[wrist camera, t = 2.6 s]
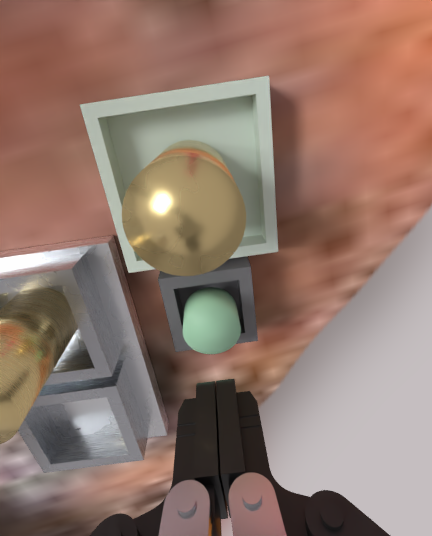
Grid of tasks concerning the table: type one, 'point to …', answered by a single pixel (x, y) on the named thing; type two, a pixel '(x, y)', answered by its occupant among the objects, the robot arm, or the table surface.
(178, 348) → the console
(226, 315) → the button
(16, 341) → the billet
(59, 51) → the table surface
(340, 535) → the robot arm
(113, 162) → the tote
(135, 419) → the tray
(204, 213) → the billet
